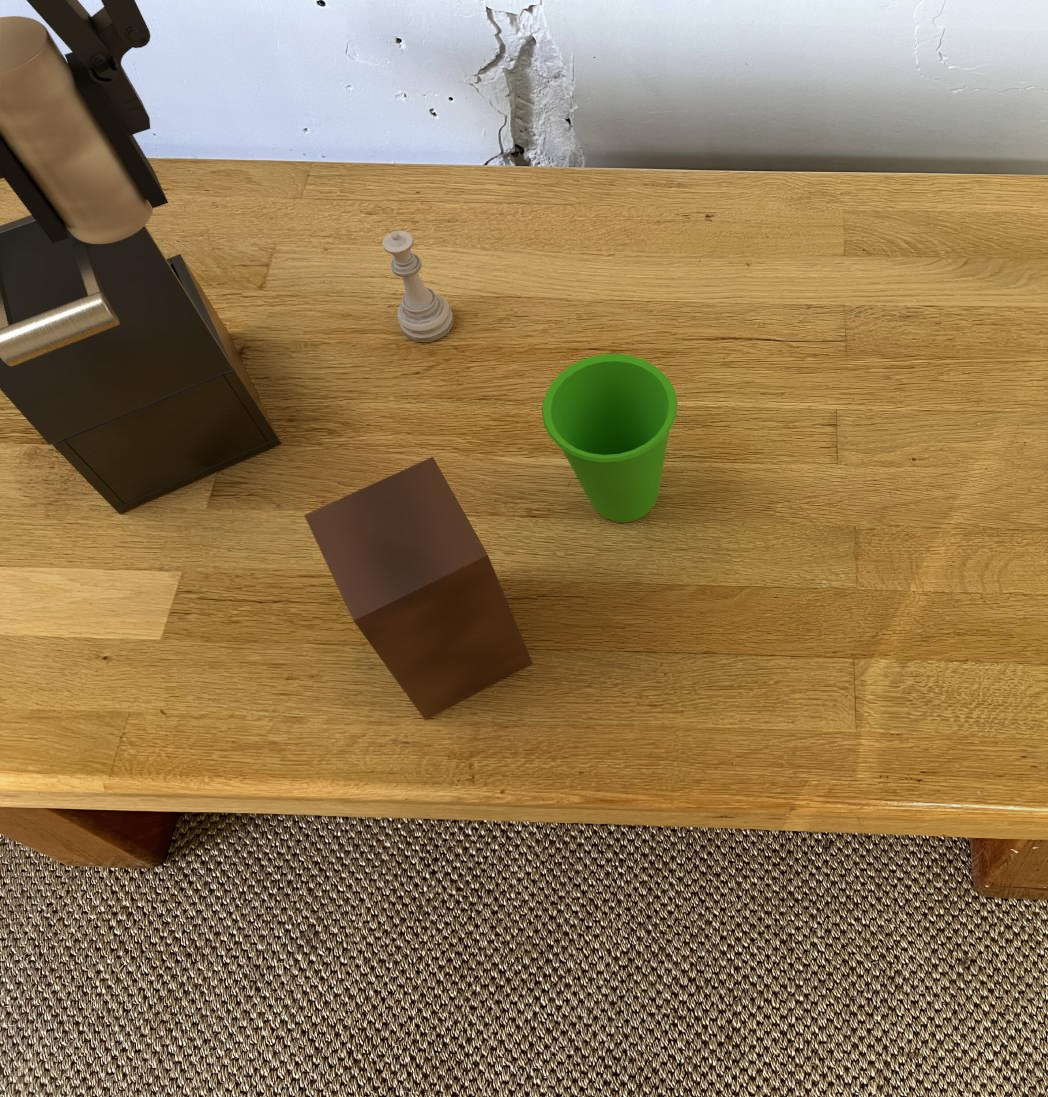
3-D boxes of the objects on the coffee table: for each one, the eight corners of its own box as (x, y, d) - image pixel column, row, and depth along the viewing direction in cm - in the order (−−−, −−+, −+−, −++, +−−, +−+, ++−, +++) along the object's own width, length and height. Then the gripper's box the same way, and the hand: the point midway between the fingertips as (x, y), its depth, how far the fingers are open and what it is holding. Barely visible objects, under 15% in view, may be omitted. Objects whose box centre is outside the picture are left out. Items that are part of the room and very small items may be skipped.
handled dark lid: (-107, 262, 58) (-96, 349, 53) (119, 183, 61) (149, 258, 56) (47, 437, 69) (68, 522, 64) (230, 363, 72) (263, 438, 68)
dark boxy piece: (76, 393, 83) (9, 317, 75) (229, 332, 86) (180, 253, 78) (119, 514, 77) (52, 445, 69) (281, 444, 80) (234, 370, 73)
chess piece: (464, 316, 87) (434, 224, 78) (432, 350, 85) (398, 260, 76) (423, 297, 88) (389, 205, 79) (390, 331, 86) (352, 240, 77)
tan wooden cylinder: (79, 256, 49) (-46, 86, 41) (60, 205, 50) (-63, 34, 43) (163, 225, 50) (57, 55, 42) (142, 177, 51) (37, 5, 44)
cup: (672, 553, 75) (663, 468, 66) (552, 537, 76) (526, 450, 66) (693, 455, 80) (688, 361, 70) (580, 440, 80) (559, 345, 71)
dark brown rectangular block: (425, 720, 68) (353, 621, 56) (380, 628, 72) (303, 514, 59) (533, 663, 71) (488, 554, 58) (485, 577, 74) (432, 456, 61)
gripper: (-40, -531, 33) (254, 105, 53) (-678, -428, 29) (-95, 222, 49) (6, -458, 30) (300, 190, 50) (-707, -330, 25) (-70, 323, 46)
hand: (104, 205), depth 49 cm, fingers closed on tan wooden cylinder, 4 cm apart
